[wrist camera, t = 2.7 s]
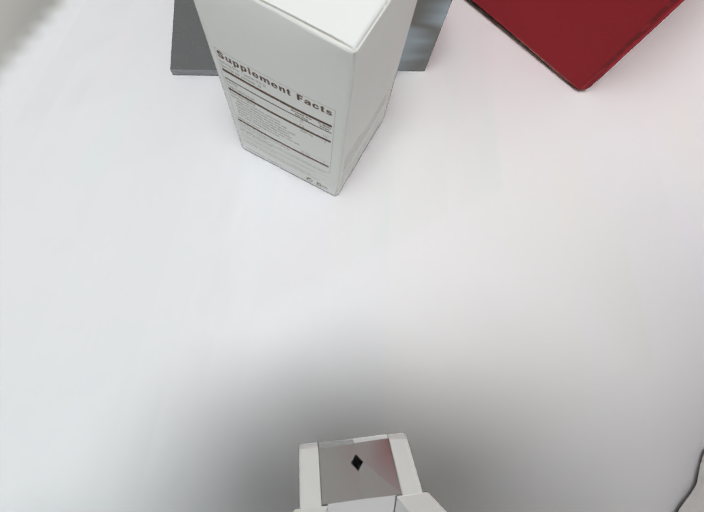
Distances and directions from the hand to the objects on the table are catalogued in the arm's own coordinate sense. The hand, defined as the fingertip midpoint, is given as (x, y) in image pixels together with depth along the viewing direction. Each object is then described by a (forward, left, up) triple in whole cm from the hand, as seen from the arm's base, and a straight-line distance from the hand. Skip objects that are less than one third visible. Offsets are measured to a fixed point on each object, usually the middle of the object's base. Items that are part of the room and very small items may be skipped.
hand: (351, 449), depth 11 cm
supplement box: (0, -21, -16) cm, 26 cm away
